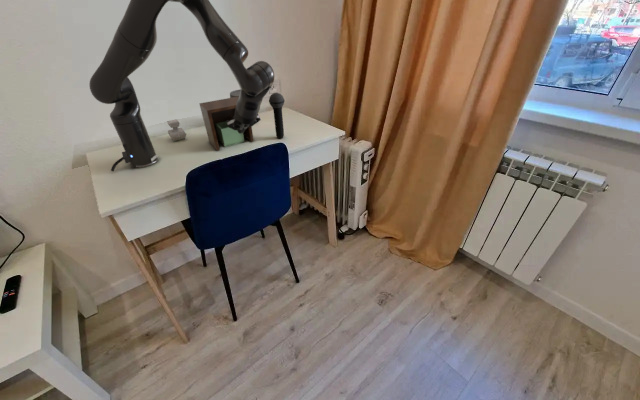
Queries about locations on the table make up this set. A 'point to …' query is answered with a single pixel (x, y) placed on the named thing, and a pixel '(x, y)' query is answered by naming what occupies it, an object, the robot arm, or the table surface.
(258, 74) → the robot arm
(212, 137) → the cubby
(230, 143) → the basket
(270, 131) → the table surface
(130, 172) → the table surface
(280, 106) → the microphone
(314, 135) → the table surface
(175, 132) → the stamp
